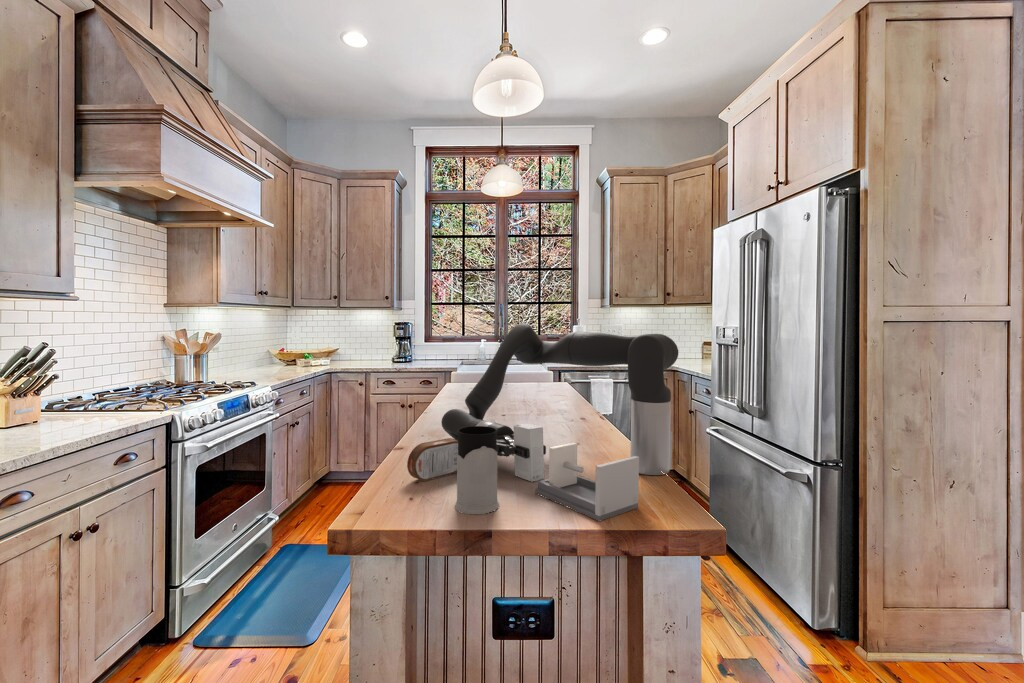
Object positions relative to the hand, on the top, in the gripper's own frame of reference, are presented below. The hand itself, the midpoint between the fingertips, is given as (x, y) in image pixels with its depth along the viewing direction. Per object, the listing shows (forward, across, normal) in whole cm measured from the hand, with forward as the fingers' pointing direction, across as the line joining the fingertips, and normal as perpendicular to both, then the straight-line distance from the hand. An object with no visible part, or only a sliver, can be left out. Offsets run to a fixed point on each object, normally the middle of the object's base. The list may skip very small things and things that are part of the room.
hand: (536, 452), depth 112 cm
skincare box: (-3, 0, +7) cm, 7 cm away
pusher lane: (+15, 0, +6) cm, 17 cm away
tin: (-16, -16, +7) cm, 24 cm away
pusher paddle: (+11, 0, +5) cm, 12 cm away
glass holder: (+2, -18, +7) cm, 20 cm away
